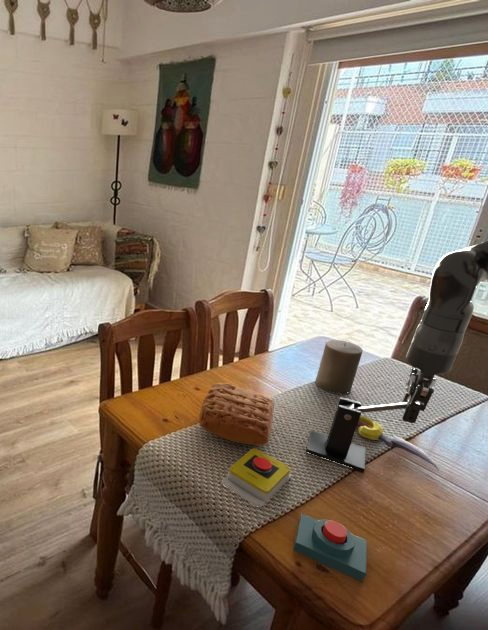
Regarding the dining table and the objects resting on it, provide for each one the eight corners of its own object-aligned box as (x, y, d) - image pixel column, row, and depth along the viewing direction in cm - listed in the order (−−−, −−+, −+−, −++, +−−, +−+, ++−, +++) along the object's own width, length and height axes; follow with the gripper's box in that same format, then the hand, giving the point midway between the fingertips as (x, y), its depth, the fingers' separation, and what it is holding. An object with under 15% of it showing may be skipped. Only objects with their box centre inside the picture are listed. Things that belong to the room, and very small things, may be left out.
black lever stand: (364, 451, 107) (381, 404, 102) (363, 473, 100) (381, 423, 95) (309, 433, 113) (323, 388, 108) (305, 453, 106) (319, 405, 101)
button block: (363, 548, 82) (369, 533, 80) (362, 582, 76) (369, 566, 74) (299, 521, 87) (303, 506, 86) (293, 550, 81) (298, 535, 80)
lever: (416, 403, 96) (413, 393, 96) (418, 414, 92) (414, 404, 92) (344, 411, 105) (340, 402, 105) (342, 421, 101) (339, 412, 101)
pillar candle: (350, 398, 129) (364, 352, 124) (313, 388, 134) (325, 344, 128) (350, 383, 137) (364, 340, 131) (315, 374, 142) (327, 332, 136)
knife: (449, 466, 103) (343, 411, 123) (453, 457, 102) (345, 403, 122) (433, 478, 99) (326, 419, 119) (437, 469, 98) (329, 411, 118)
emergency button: (296, 461, 97) (264, 493, 88) (292, 476, 99) (260, 510, 90) (257, 439, 104) (222, 468, 94) (253, 454, 105) (219, 484, 96)
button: (345, 533, 81) (347, 526, 80) (344, 547, 78) (346, 540, 77) (323, 524, 82) (325, 517, 82) (321, 537, 80) (323, 530, 79)
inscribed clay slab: (263, 463, 102) (270, 435, 99) (190, 439, 110) (194, 412, 107) (274, 415, 120) (280, 390, 117) (211, 397, 128) (215, 373, 125)
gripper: (463, 364, 82) (432, 438, 88) (453, 337, 93) (425, 405, 99) (414, 353, 85) (387, 425, 92) (410, 328, 97) (386, 394, 103)
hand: (407, 414), depth 96 cm, fingers closed on lever, 5 cm apart
